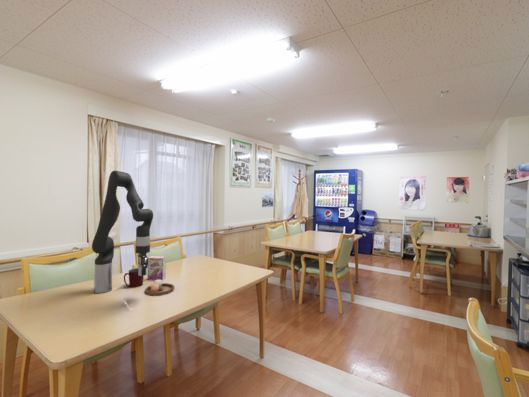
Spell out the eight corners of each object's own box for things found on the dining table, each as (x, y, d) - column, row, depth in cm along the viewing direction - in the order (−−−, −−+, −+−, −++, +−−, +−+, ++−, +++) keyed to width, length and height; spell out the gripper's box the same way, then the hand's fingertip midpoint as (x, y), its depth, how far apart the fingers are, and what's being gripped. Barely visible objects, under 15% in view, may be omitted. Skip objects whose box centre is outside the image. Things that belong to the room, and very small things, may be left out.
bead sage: (155, 290, 163) (155, 282, 163) (153, 288, 167) (153, 280, 166) (162, 288, 166) (162, 280, 166) (160, 286, 169) (160, 278, 169)
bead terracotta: (155, 294, 156) (155, 286, 156) (149, 293, 158) (149, 285, 158) (160, 292, 160) (160, 283, 160) (154, 291, 162) (154, 282, 162)
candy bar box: (147, 281, 183) (147, 257, 183) (150, 278, 188) (151, 255, 188) (162, 282, 182) (162, 258, 181) (166, 279, 187) (166, 256, 186)
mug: (127, 292, 163) (127, 274, 162) (120, 288, 168) (121, 271, 168) (146, 286, 172) (146, 270, 172) (139, 283, 178) (139, 267, 177)
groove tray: (149, 299, 152) (149, 295, 151) (142, 291, 164) (142, 286, 164) (178, 293, 162) (178, 288, 162) (168, 285, 175) (168, 281, 174)
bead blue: (139, 276, 148) (139, 267, 147) (137, 274, 151) (137, 265, 151) (147, 274, 150) (147, 266, 150) (145, 272, 154) (145, 264, 154)
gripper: (132, 242, 154) (132, 272, 154) (138, 247, 142) (138, 278, 143) (146, 241, 158) (146, 269, 159) (153, 245, 147) (153, 276, 147)
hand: (142, 273), depth 151 cm, fingers closed on bead blue, 4 cm apart
